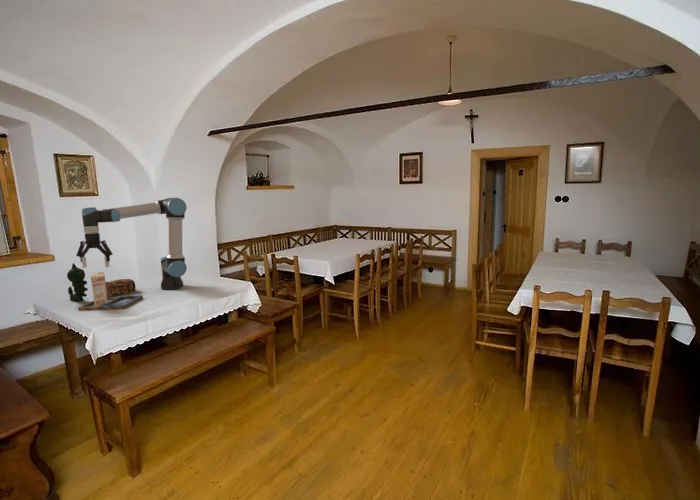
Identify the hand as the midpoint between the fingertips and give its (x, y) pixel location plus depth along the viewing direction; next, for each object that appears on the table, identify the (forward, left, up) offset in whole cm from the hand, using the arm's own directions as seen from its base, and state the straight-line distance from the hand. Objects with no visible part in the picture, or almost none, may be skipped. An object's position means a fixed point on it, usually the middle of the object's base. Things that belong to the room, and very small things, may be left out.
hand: (96, 267), depth 234 cm
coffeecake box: (0, 0, -24) cm, 24 cm away
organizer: (-7, 0, -24) cm, 25 cm away
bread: (+3, -25, -24) cm, 35 cm away
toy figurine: (+22, -11, -24) cm, 34 cm away
